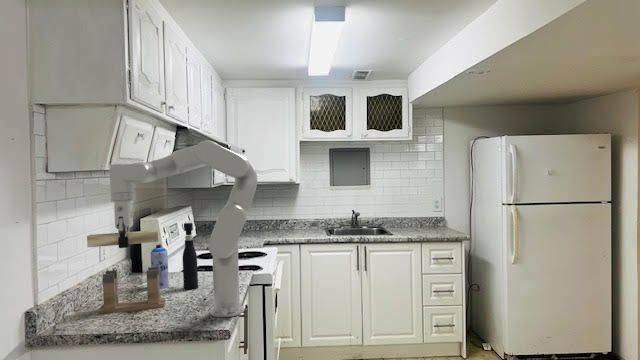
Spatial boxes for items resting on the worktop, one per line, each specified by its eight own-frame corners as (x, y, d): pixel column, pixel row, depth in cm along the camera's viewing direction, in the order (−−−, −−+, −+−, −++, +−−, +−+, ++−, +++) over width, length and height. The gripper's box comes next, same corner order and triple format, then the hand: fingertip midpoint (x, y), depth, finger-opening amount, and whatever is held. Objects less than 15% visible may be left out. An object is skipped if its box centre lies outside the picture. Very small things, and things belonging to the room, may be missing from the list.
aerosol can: (160, 289, 206) (158, 246, 205) (147, 288, 210) (145, 245, 209) (172, 285, 213) (171, 243, 212) (160, 284, 217) (159, 242, 216)
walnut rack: (163, 307, 179) (162, 269, 179) (98, 314, 173) (96, 275, 173) (165, 301, 187) (163, 265, 187) (102, 308, 181) (100, 271, 181)
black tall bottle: (181, 288, 208) (178, 223, 207) (194, 285, 212) (191, 222, 211) (187, 290, 203) (184, 224, 202) (200, 288, 207) (197, 223, 206)
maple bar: (158, 242, 167) (157, 231, 167) (87, 247, 161) (86, 236, 161) (159, 240, 171) (158, 229, 171) (90, 245, 165) (89, 234, 165)
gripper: (129, 198, 158) (132, 249, 159) (136, 195, 175) (138, 242, 175) (106, 199, 156) (109, 251, 157) (115, 196, 173) (117, 244, 173)
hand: (124, 246), depth 166 cm, fingers closed on maple bar, 4 cm apart
